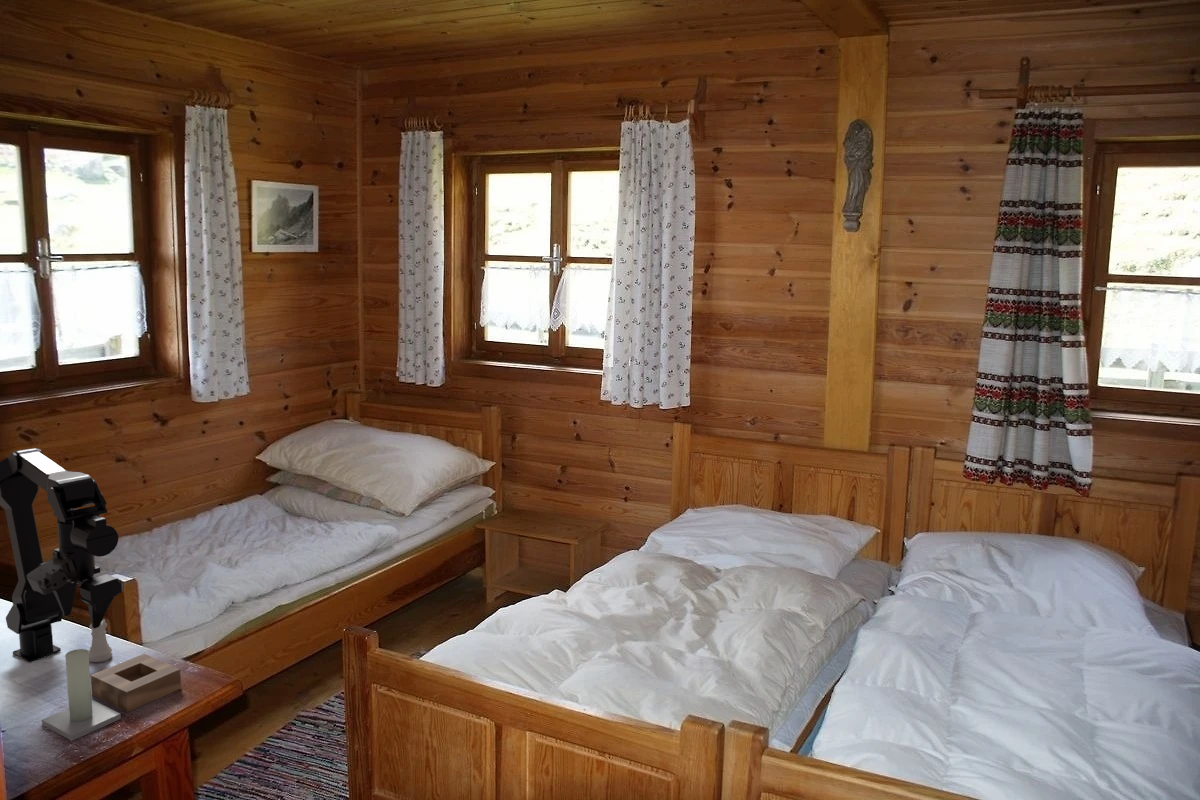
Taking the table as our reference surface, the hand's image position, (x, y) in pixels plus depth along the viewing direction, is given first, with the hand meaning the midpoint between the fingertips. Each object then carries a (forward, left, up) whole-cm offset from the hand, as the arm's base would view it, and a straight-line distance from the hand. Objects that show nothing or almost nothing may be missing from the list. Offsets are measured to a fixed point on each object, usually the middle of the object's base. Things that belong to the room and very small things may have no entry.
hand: (81, 621), depth 182 cm
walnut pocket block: (+10, +4, -13) cm, 17 cm away
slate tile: (+12, -8, -13) cm, 19 cm away
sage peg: (+12, -8, -12) cm, 19 cm away
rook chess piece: (-8, +8, -13) cm, 17 cm away
